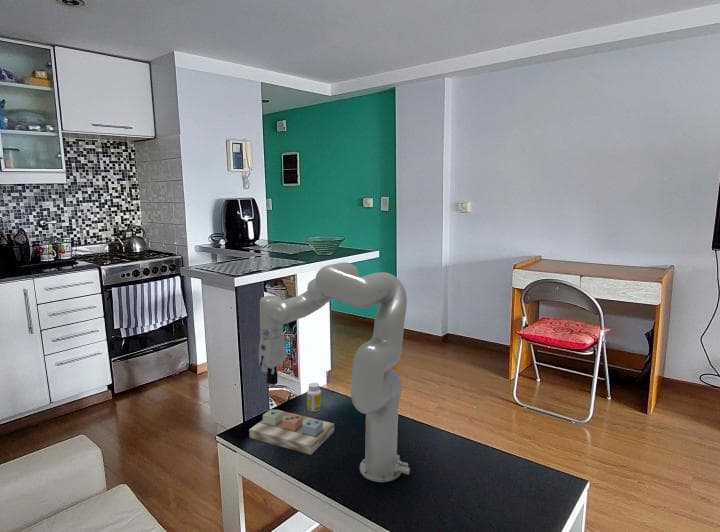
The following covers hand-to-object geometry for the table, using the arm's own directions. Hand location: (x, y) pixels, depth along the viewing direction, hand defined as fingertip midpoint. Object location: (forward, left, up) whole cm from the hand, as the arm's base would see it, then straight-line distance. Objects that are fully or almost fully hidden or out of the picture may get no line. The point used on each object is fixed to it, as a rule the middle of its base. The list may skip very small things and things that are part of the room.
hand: (272, 383), depth 158 cm
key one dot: (0, 0, -14) cm, 14 cm away
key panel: (-8, 0, -17) cm, 19 cm away
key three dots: (-8, 0, -14) cm, 16 cm away
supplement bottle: (-5, -20, -17) cm, 27 cm away
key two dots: (-16, 0, -14) cm, 21 cm away
